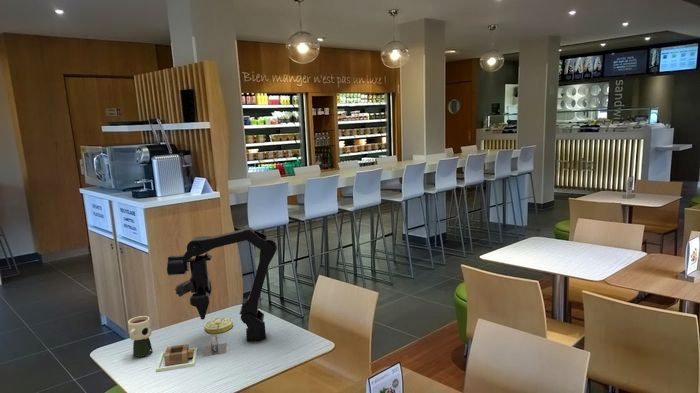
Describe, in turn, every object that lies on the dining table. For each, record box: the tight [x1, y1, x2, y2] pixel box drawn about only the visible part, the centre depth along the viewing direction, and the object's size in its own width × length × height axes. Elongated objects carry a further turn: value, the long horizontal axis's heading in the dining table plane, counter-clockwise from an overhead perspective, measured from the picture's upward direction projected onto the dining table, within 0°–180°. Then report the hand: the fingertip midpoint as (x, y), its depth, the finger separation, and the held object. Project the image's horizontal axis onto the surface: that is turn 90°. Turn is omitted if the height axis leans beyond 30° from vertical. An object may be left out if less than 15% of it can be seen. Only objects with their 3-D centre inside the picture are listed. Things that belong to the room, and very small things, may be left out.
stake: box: [201, 334, 227, 358], centre depth 167 cm, size 8×8×6 cm
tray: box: [155, 346, 198, 373], centre depth 160 cm, size 12×12×2 cm
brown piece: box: [163, 343, 194, 367], centre depth 160 cm, size 7×8×4 cm
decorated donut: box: [203, 317, 234, 335], centre depth 185 cm, size 10×11×4 cm
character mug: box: [127, 315, 153, 357], centre depth 167 cm, size 11×7×13 cm, turn 174°
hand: (203, 314), depth 170 cm, fingers open, 9 cm apart
